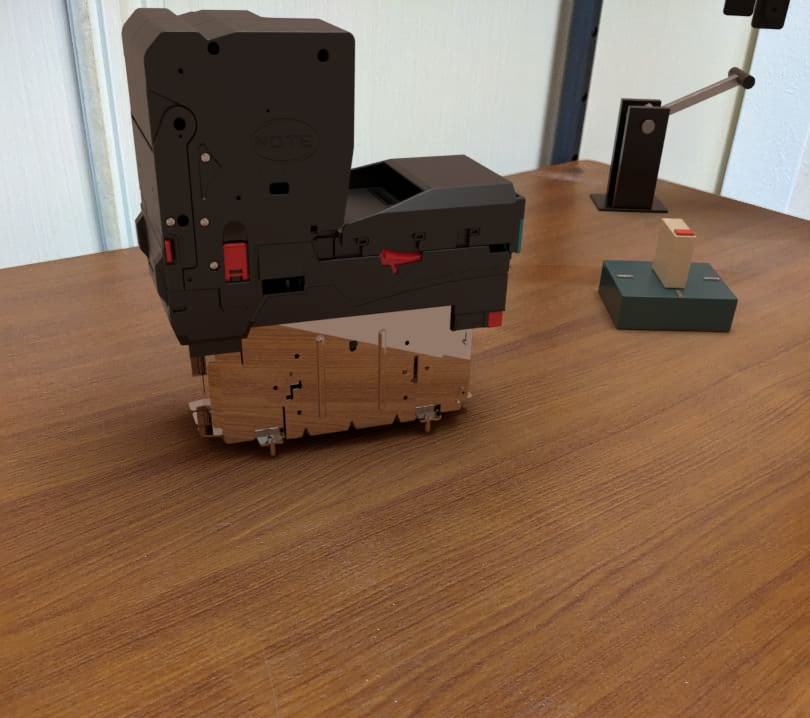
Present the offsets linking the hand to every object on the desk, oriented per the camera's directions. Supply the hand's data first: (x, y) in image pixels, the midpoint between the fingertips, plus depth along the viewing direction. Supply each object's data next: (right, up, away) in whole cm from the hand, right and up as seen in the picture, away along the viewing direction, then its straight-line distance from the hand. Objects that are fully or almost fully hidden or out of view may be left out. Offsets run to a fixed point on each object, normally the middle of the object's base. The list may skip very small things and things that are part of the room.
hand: (751, 21), depth 97 cm
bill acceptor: (-42, -46, -31) cm, 69 cm away
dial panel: (-13, -34, -13) cm, 38 cm away
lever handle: (-5, -7, +5) cm, 10 cm away
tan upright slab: (-13, -31, -15) cm, 37 cm away
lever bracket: (-10, -16, +11) cm, 22 cm away
